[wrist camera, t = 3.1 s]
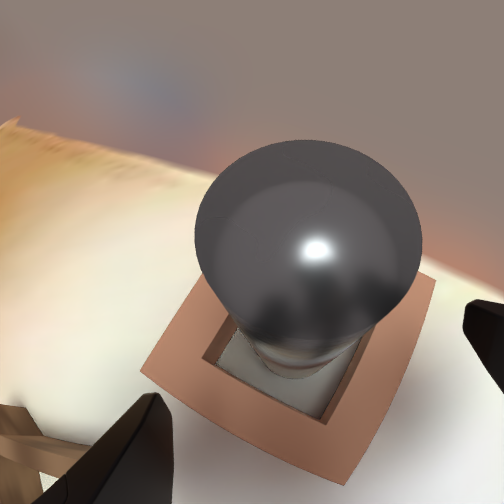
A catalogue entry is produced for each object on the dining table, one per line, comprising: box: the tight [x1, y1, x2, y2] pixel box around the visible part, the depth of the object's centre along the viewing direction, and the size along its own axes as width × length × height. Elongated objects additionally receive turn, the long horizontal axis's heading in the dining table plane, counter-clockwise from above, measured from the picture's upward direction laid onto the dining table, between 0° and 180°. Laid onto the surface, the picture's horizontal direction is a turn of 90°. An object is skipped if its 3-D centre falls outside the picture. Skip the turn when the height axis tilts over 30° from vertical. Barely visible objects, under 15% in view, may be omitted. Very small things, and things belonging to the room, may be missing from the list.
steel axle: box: [195, 140, 422, 379], centre depth 11 cm, size 4×4×13 cm
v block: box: [0, 404, 92, 504], centre depth 11 cm, size 10×16×5 cm, turn 142°
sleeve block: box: [140, 272, 436, 486], centre depth 16 cm, size 12×12×3 cm
